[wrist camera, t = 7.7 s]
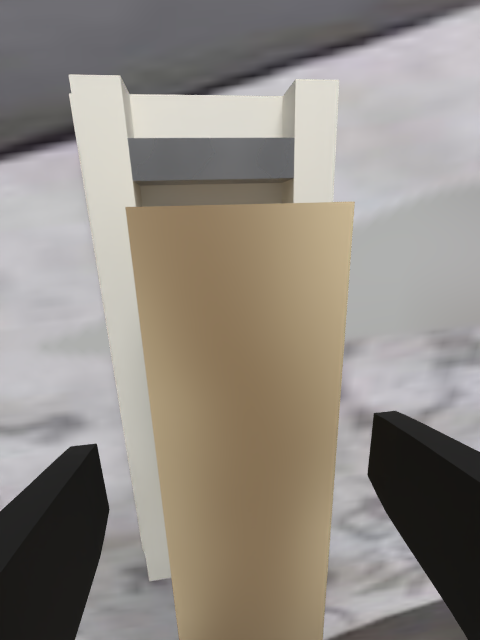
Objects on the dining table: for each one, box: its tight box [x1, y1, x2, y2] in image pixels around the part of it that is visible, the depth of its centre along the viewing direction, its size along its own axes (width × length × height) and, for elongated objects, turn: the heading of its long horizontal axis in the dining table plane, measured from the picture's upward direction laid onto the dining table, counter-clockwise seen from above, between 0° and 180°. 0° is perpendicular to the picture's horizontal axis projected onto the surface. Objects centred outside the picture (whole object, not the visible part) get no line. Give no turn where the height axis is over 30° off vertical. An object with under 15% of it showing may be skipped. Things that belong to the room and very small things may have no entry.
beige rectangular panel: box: [125, 202, 355, 640], centre depth 11 cm, size 4×12×7 cm, turn 2°
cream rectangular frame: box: [69, 75, 339, 581], centre depth 14 cm, size 20×9×3 cm, turn 2°
